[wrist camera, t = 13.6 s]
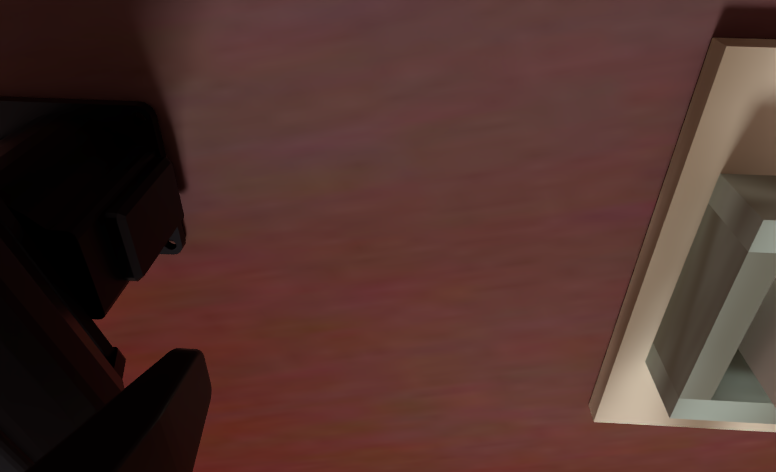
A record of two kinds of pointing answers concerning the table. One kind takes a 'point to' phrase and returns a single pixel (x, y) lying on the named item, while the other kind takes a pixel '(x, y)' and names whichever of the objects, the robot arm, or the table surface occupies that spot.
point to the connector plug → (763, 344)
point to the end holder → (703, 260)
